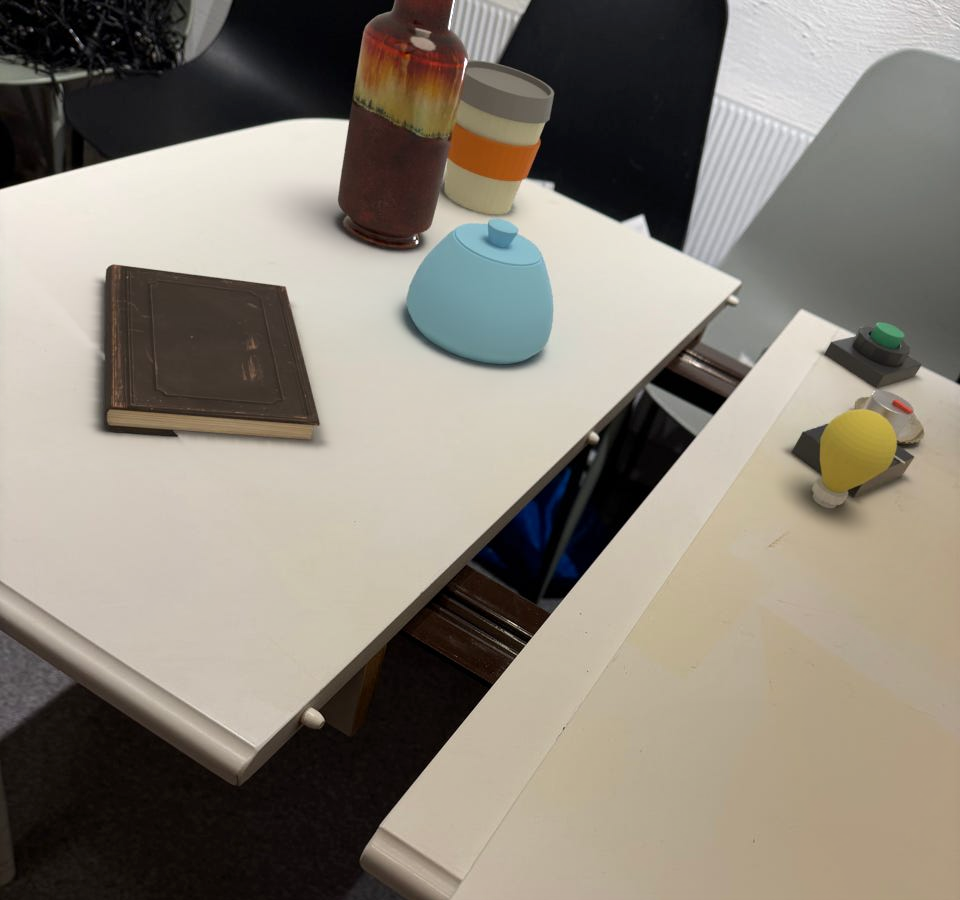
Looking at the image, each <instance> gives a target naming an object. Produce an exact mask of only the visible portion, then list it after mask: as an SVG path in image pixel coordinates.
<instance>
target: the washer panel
mask: <svg viewBox="0 0 960 900" xmlns="http://www.w3.org/2000/svg"><path fill="white" fill-rule="evenodd" d="M829 423H830V422H827V423H824V424H821V425H818V426H816V427H812V428H808V429H807V430H803V431H802V432H801V434H800V435H799V437H798V439H797V441H796V443H795V445H794V446H793V448H792V450H791V451H790V452H791V454H792V455H794V456H795V457H796V458H798V459H799V460H801V461H802V462H803V463H805V464H806V465H807V466H808V467H810V468H812V469H813V470H814V471H816V472H817V473H818V474H820V475H821V476H822V472H821V464H820V442H821V436H822V434H823V432H824V430H825V428H826V427H827V425H828V424H829ZM914 459H915V455H913V454H911V453H910V452H909V451H907V450H906V449H904V448H903V447H901V446H900V445H898V444H897V448H896V452H895V455H894V458H893V461H892V463H891V465H890V466H889V467H888V469H887V470H885V471H883V472H882V473H880V474H878V475H877V476H875V477H873V478H872V479H870V480H868V481H867V482H865V483H864V484H861V485H859V486H856V487H854V488H851V489H849V490H847V491H848V496H850V497H851V498H857V497H859V496H861V495H863V494H866V493H868V492H870V491H873V490H875V489H877V488H879V487H881V486H884V485H886V484H889V483H891V482H894V481H896V480H898V479H900V478H902V477H903V475H904V474H905V472H906V470H908V468H909V466H910V464H911V463H912V462H913V460H914Z"/></svg>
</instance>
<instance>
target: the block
mask: <svg viewBox="0 0 960 900" xmlns="http://www.w3.org/2000/svg"><path fill="white" fill-rule="evenodd" d="M874 328H875V326H870V325H869V326H868V325H865V326H860V327H859V328H858V330H857V332H856V334H855V336H851V337H847V338H841V339H837V340H833V341H831V342H830V343H829V345H828V346H827V348H826V350H825V352H824V354H823V355H824V356H825V357H827V358H829V359H830V360H831V361H833V362H834V363H836V364H838V365H839V366H841V367H843V368H844V369H845V370H847V371H848V372H850V373H851V374H853V375H855V376H856V377H857V378H859V379H861V380H862V381H864V382H866V383H867V384H869V385H870V386H872V387H873V388H874V389H880V388H882V387H885V386H889V385H892V384H895V383H898V382H902V381H905V380H909V379H911V378H915V377H916V375H917V374H918V372H919V370H920V368H921V367H922V365H923V364H922V363H921V362H919V361H917V360H916V359H915V358H912V357H911V356H909V354H910V352H911V349H910V348H911V347H910V346H909V345H908V344H907V343H906V342H905V341H904V340H903V339H902V341H901V343H900V344H899V346H898V348H897V349H893V348H888V347H886V346H883V345H881V344H879V343H877V342H876V341H874V340H873V339H872V338H871V337H870V335H871V333H872V331H873V330H874Z"/></svg>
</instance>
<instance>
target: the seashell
mask: <svg viewBox="0 0 960 900" xmlns="http://www.w3.org/2000/svg"><path fill="white" fill-rule="evenodd" d="M869 397H870V396H865V397H863V396H862V397H859V398H858V399H856V400H855V402H854V408H853V410H857V409H863V408H864V406H865V404H866V403H867V401H868V399H869ZM916 415H917V414H915V411H914V412H913V414H912V416H911V417H910V419H909V420H908V422H907V423H906V425H905V426H904V428H903V430H902V431H901V433H900V434H899V436H898V437H897V444H904V445H908V444H915V443H916V444H917V443H918V442H920V441H921V440H922V439H924V436H925V429H924V426H923V424H922V423H921V421H920V420H919V419H918V418H917V416H916Z"/></svg>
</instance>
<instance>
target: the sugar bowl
mask: <svg viewBox="0 0 960 900" xmlns="http://www.w3.org/2000/svg"><path fill="white" fill-rule="evenodd" d="M519 230H520V229H519V227H517V225H515V224H514V223H513V222H511V221H509V220H507V219H503V218H490V219H488V220H487V224H486V223H482V222H481V223H480V222H469V223H464V224H461V225H459V226H457V227H455V228H454V229H453V230H451V231H449V233H448V234H446V235H445V236H444V237H443V238H442V239H441V240H440V241H439V242H438V243H437V244H436V245H435V246H434V247H433V248H431V250H430V252H429V253H427V255H426V256H425V257H424V258H423V260H422V262H421V263H420V265H419V266H418V268H417V269H416V271H415V273H414V275H413V277H412V280H411V282H410V284H409V287H408V291H407V295H406V307H407V311H408V313H409V316H410V317H411V319H412V321H413V323H414V325H415V327H416V328H417V329H418V331H419V332H420V333H421V334H422V335H423V336H424V337H425V338H426V339H427V340H428V341H430V342H431V343H433V344H434V345H436V346H437V347H439V348H441V349H443V350H445V351H446V352H449V353H451V354H453V355H456V356H457V357H461V358H464V359H468V360H471V361H474V362H479V363H484V364H491V365H511V364H516V363H520V362H524V361H526V360H528V359H530V358H531V357H533V356H535V355H536V354H538V353H540V352H541V351H542V350H543V349H544V348H545V346H547V344H548V342H549V339H550V337H551V333H552V329H553V324H554V323H553V322H554V295H553V290H552V285H551V280H550V276H549V272H548V269H547V264H546V262H545V259H544V255H543V254H542V251H540V249H539V247H538V246H537V245H536V244H535V243H533V242H532V240H530V239H528V238H526V237H524V236H523V235H521V234H519Z"/></svg>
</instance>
